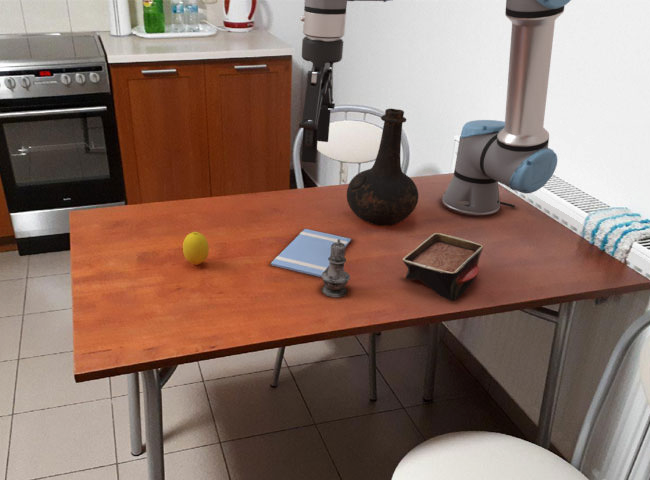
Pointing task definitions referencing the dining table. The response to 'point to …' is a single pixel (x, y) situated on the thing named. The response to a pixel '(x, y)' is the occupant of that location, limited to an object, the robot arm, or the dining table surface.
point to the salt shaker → (336, 272)
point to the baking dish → (445, 264)
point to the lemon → (195, 248)
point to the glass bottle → (384, 180)
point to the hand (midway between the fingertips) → (315, 151)
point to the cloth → (308, 252)
